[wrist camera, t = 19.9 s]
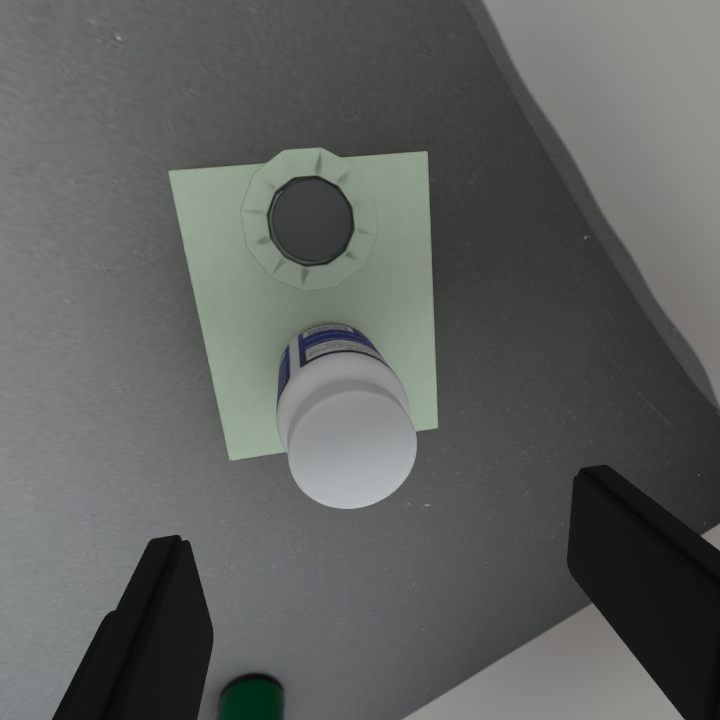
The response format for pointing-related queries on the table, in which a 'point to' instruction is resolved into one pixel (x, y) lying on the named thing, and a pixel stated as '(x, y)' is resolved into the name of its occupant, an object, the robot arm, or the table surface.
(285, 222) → the button
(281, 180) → the scale
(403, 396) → the pill bottle
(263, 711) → the soda can
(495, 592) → the table surface
